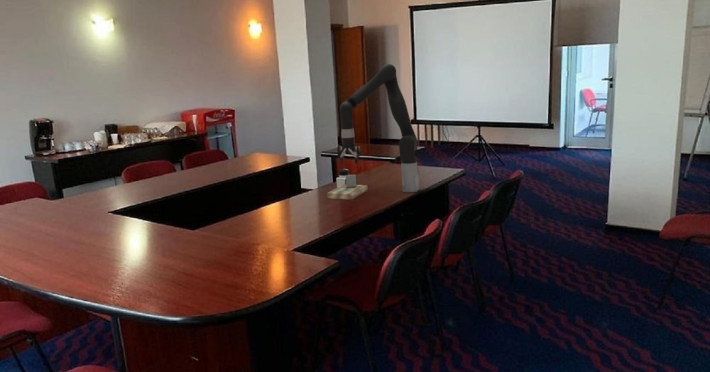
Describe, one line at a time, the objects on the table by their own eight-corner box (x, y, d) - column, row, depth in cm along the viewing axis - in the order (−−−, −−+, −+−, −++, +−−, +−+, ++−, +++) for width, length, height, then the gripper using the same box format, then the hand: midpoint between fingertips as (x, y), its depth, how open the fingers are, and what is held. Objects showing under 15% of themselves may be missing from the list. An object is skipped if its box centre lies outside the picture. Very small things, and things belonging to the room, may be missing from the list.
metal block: (356, 191, 338) (355, 174, 336) (353, 192, 334) (352, 176, 332) (349, 190, 340) (348, 174, 338) (346, 192, 336) (345, 176, 334)
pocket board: (367, 191, 339) (367, 184, 338) (352, 201, 320) (352, 193, 319) (343, 190, 346) (343, 184, 345) (327, 199, 326) (326, 192, 325)
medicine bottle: (345, 190, 347) (344, 171, 344) (336, 189, 351) (335, 170, 348) (352, 187, 352) (351, 168, 350) (344, 186, 357) (342, 168, 354)
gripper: (361, 135, 330) (363, 162, 334) (339, 135, 336) (341, 162, 340) (356, 137, 324) (358, 165, 327) (334, 137, 329) (336, 164, 333)
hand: (349, 163), depth 333 cm, fingers open, 8 cm apart
